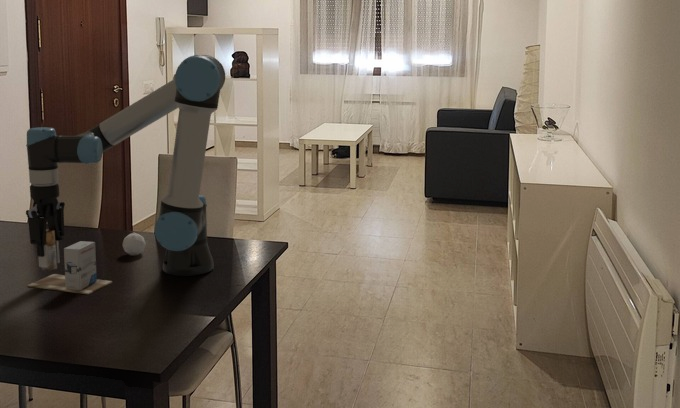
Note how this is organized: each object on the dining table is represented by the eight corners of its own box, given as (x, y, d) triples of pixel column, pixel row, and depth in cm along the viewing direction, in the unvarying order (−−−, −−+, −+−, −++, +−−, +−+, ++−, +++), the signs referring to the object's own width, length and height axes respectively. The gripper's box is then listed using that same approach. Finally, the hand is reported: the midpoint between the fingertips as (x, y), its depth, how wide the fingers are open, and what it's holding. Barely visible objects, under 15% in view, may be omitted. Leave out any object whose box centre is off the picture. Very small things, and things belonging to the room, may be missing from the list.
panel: (112, 282, 211) (112, 281, 211) (88, 294, 201) (88, 293, 201) (53, 275, 217) (53, 273, 217) (27, 286, 207) (27, 285, 207)
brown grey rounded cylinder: (60, 267, 211) (57, 229, 208) (50, 271, 207) (48, 233, 205) (48, 265, 212) (45, 228, 210) (38, 269, 208) (36, 231, 206)
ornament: (118, 256, 237) (118, 233, 240) (138, 260, 242) (138, 238, 245) (129, 249, 232) (130, 226, 236) (150, 253, 238) (150, 230, 241)
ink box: (82, 279, 212) (80, 240, 209) (98, 281, 211) (96, 241, 208) (65, 289, 204) (62, 248, 201) (81, 290, 203) (78, 249, 200)
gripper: (53, 177, 213) (58, 255, 218) (11, 188, 197) (17, 271, 202) (75, 179, 211) (79, 258, 216) (34, 190, 195) (40, 274, 200)
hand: (49, 264), depth 209 cm, fingers closed on brown grey rounded cylinder, 4 cm apart
